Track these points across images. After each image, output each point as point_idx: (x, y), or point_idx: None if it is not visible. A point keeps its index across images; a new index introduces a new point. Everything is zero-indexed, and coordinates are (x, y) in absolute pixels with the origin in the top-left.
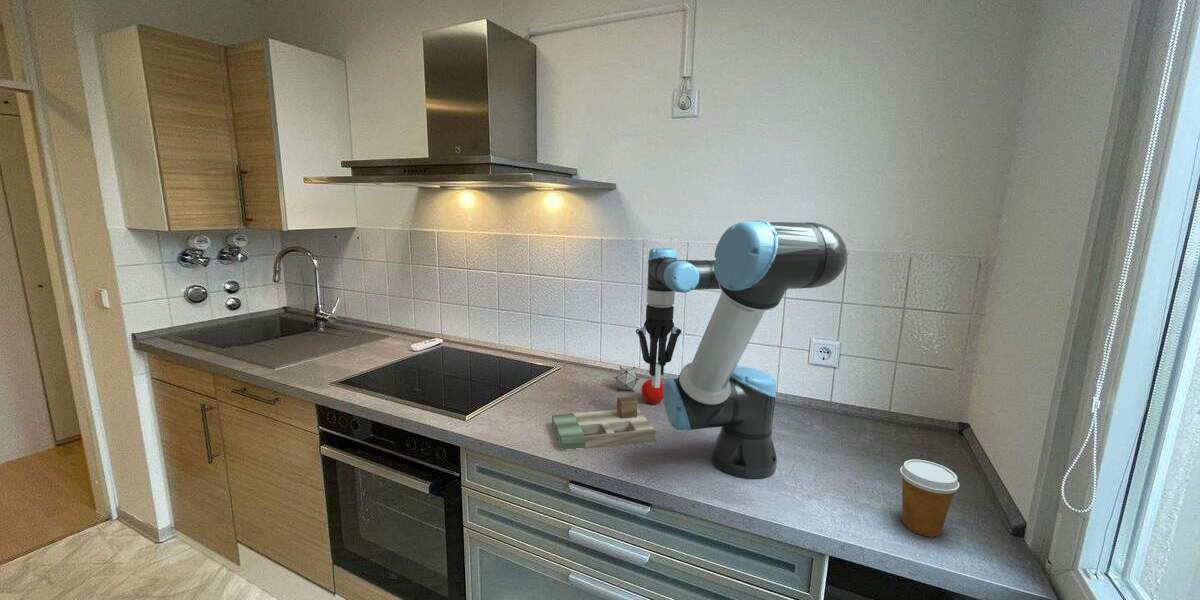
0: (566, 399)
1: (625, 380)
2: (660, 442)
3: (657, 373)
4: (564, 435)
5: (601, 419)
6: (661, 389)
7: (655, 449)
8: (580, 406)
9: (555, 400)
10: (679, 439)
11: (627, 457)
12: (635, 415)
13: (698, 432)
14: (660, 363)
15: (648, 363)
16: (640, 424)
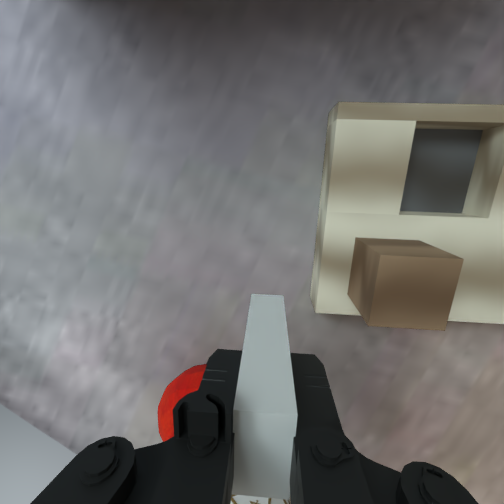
0: (460, 458)
1: (271, 498)
2: (315, 98)
3: (273, 351)
4: None
5: (497, 253)
6: (182, 394)
7: (359, 46)
8: (443, 408)
9: (495, 461)
10: (240, 104)
11: (492, 5)
12: (364, 239)
13: (153, 141)
14: (227, 447)
15: (416, 463)
16: (373, 172)
